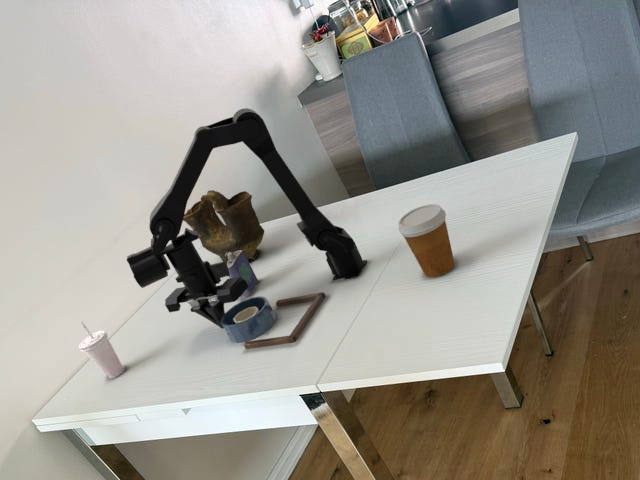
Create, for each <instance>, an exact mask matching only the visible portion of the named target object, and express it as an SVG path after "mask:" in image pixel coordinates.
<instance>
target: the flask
mask: <svg viewBox="0 0 640 480" xmlns="http://www.w3.org/2000/svg"><path fill="white" fill-rule="evenodd" d="M227 253H228V252H227ZM227 253H226V254H225V256H226V255H227V256H228V259H229V260H228V262H227V266H228V270H229V273H230V276H228V277H229V279H230V278H235V277H243V278H244V279H245V280H246V282H247V284H248V286H249V287H248V288H247V289H246V290H245V292H244V293H243V294H242V295H241V296H240V297H239V299H241V300H246V299H249V298H250V296H251V294H252V291H253V289H254V287H255V286H256V285H258V284H259V283H260V281H259V279H258V277H257V276H256V275H257V274H256V273H255V272H254V270H253V268H252V266H251V264H250V261H249V260H247V258H246V256H245V254H244V252H243V250H239V251H236V252H234V254H232V253H233V252H232V253H231V252H229V253H228V254H227Z"/></svg>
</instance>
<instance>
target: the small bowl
mask: <svg viewBox="0 0 640 480" xmlns="http://www.w3.org/2000/svg"><path fill="white" fill-rule="evenodd" d="M258 312H259V310H258V308H257V307H249V308H246V309H244V310H243V311H241V312H239V313H238V314H237V315H236V316H235V317H234V319H233V320H234V322H235V324H237V323H240V322H242V321H245V320H247V319H249V318H251V317H252V316H254V315H255V314H256V313H258Z"/></svg>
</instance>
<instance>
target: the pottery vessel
mask: <svg viewBox="0 0 640 480" xmlns="http://www.w3.org/2000/svg"><path fill="white" fill-rule="evenodd" d="M252 198H253V195H252V194H250V193H249V192H248V191H246V190H244V191H240V192H238V193H236V194H234V195H232V196H231V197H230V198H227V197H226V196H225V195H224V194H222V193H221V192H219V191H217V190H213V189H211V190H208V191H207V192H206V194H202V195H201V198H200V200H199V201H197V202H195V203H194V204H193V205H192V206H191V208H188V209H187V211H186V212H185V214H184V218H183V222H185V223H186V224H187V225H188V226H189V227H190V228H191V230H193V231H197V232H198V237H199V238H198V239H199V241H200V243H201V246H202V248H203V249H205V250H207V251H208V252H209V253H212V254H214V255H216V256H219V258H220V259H221V261H222V262H228V260H229V259H228V256H227V255H226V256H225V254H226V253H227V252H228V253H229V252H231V253H232V252H233V253H232V254H234V252H236V251H239V250H243V252H244V254H245V256H246V258H247V260H248V261H249V260H250V259H252V260H256V258H257V257H258V256H259V255H261V250H260V249H258V248H259V246H260V245H261V243H262V241H263V238H264V235H265V229H264V228H263V226H262V225H261V224H260V221H259V218H258V215H257V213H256V211H255V209H254V207H253V204H252ZM219 215H220V217H221V218H222V220H223V221H222V220H221V218H220V217H219ZM228 253H227V254H228Z"/></svg>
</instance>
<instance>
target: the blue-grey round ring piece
mask: <svg viewBox="0 0 640 480" xmlns="http://www.w3.org/2000/svg"><path fill="white" fill-rule="evenodd" d="M249 307H257V308H258V310H259V312H258V313H256V314H255V315H254V316H252V317H251V318H249V319H247V320H245V321H242V322H240V323H237V324H235V322H234V320H233V319H234V317H235V316H236V315H237V314H238V313H239V312H241V311H243V310H244V309H246V308H249ZM276 321H277V314H276V313H275V311H274V310H273V308H272V306H271V304H270V302H269V300H268V299H267V298H266V297H265V296H261V295H258V296H253V297H248V298H246V299H243V300H242V301H240V302H238V303H236V304H234V305H233V306H232V307H231V308H228V309H227V311H225V314H224V315H223V316H222V318H221V324H222V326H223V327H224V328H223V329H224V330H225V332H226V335H227V336H228V337H229V338H230V340H231V342H232V343H238V344H240V343H246V342H248V341H253V340H254V339H256V338H258V337H260V336H261V335H263V334H265V333H266V332H267V331H269V329H271V328H272V327H273V325H274V324H275V323H276Z"/></svg>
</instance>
